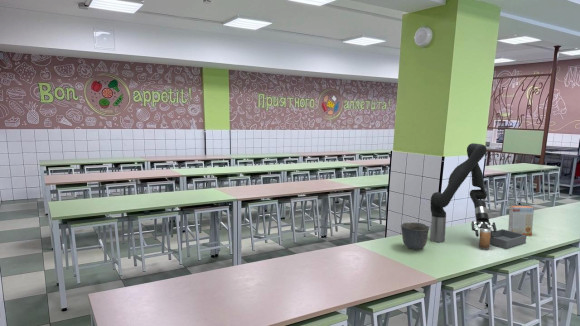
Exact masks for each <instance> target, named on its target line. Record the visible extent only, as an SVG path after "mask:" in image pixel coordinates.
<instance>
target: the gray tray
mask: <svg viewBox="0 0 580 326" xmlns="http://www.w3.org/2000/svg"><path fill="white" fill-rule="evenodd" d="M526 243H527V236H526V235H523V234H520V233H516V232H512V231H508V230H507V229H503V228H501V229H498V230H496V232H494V237H493V238H491V236H490V246H493V247H495V248H496V247H498V248H500V249H503V250H509V249H511V248H512V249H513V248H515V247H518V246H521V245H524V244H526Z"/></svg>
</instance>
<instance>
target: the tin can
mask: <svg viewBox="0 0 580 326" xmlns="http://www.w3.org/2000/svg"><path fill="white" fill-rule="evenodd" d="M490 236H491V229H489V227H488V228H479V241H478V249H480V250H482V251H489V250H490V247H491V245H490Z"/></svg>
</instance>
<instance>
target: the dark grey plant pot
mask: <svg viewBox="0 0 580 326" xmlns="http://www.w3.org/2000/svg"><path fill="white" fill-rule="evenodd" d="M430 227H431V226H429V225H426V224H425V223H421V222H404V223H401V224H400V228H401V236H402V237H401V238H402V242H403V244H404V246H406V247H407V248H408V249H413V250H421V249H423V248H425V246H426V245H427V241H428V236H429V231H430Z"/></svg>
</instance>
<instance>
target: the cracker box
mask: <svg viewBox="0 0 580 326" xmlns="http://www.w3.org/2000/svg"><path fill="white" fill-rule="evenodd" d="M508 210H509V213H508V231H512V232H516V233H520V234H523V235H526V237H529V236H531V237H532V236H533V223H534V207H533V206H530V205H509V209H508Z"/></svg>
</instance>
